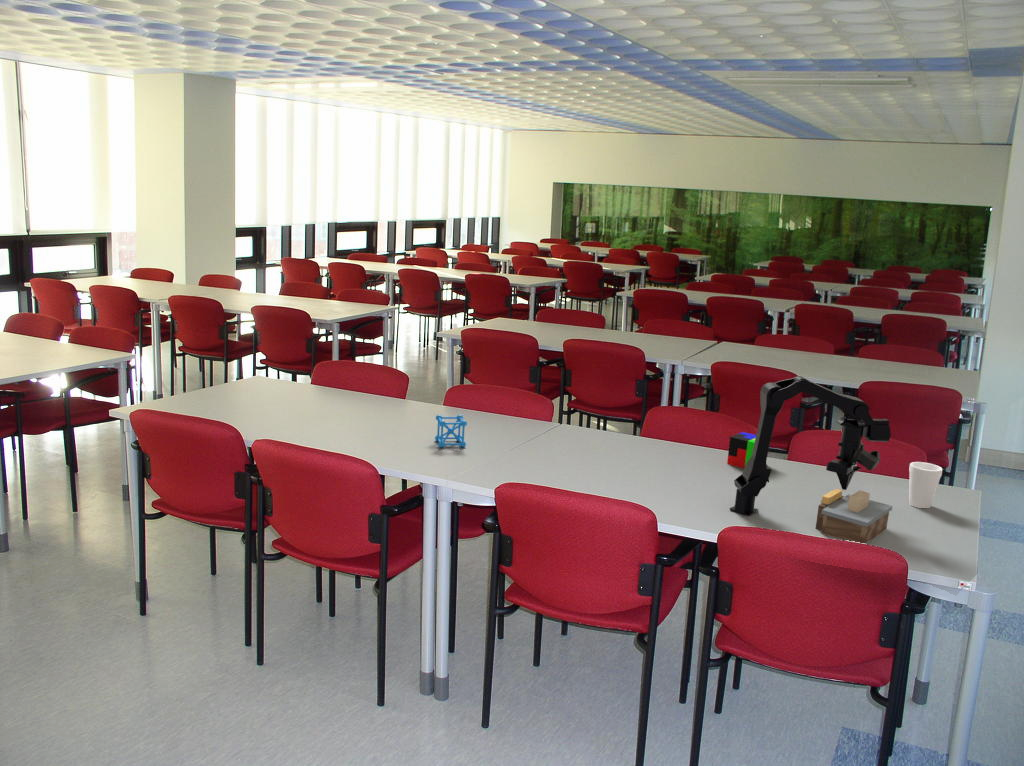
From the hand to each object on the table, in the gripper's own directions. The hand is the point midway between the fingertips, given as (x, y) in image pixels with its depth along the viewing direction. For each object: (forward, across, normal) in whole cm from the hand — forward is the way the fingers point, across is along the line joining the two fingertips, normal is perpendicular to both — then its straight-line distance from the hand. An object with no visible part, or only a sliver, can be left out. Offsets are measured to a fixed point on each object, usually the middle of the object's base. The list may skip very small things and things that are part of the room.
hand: (844, 489), depth 273 cm
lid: (+3, -9, -6) cm, 11 cm away
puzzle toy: (+9, +26, +44) cm, 52 cm away
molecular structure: (+9, -40, +127) cm, 134 cm away
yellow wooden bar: (+1, -9, 0) cm, 9 cm away
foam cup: (+9, +31, -14) cm, 35 cm away
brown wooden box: (+8, -9, -6) cm, 14 cm away
